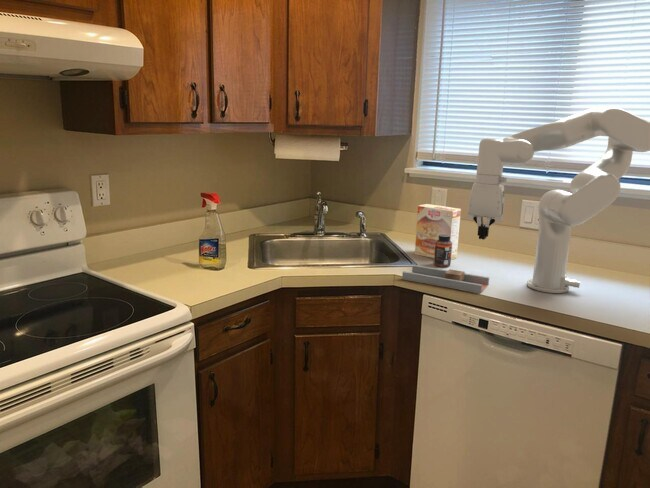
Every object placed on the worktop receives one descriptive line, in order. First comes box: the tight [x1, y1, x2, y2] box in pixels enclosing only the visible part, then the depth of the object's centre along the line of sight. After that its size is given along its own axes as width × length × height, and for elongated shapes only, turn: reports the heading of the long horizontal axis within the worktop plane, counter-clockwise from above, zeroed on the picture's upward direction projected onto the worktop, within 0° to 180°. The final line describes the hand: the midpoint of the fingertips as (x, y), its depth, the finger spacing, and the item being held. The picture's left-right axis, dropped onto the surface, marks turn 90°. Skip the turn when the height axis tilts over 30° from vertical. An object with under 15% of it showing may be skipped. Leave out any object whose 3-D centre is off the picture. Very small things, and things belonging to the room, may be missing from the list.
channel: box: [401, 264, 490, 294], centre depth 178 cm, size 26×10×2 cm, turn 61°
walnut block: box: [445, 268, 466, 281], centre depth 176 cm, size 5×5×4 cm
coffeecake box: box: [414, 203, 462, 261], centre depth 207 cm, size 15×7×20 cm, turn 49°
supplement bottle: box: [433, 234, 452, 268], centre depth 196 cm, size 6×6×11 cm
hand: (482, 238), depth 169 cm, fingers closed
